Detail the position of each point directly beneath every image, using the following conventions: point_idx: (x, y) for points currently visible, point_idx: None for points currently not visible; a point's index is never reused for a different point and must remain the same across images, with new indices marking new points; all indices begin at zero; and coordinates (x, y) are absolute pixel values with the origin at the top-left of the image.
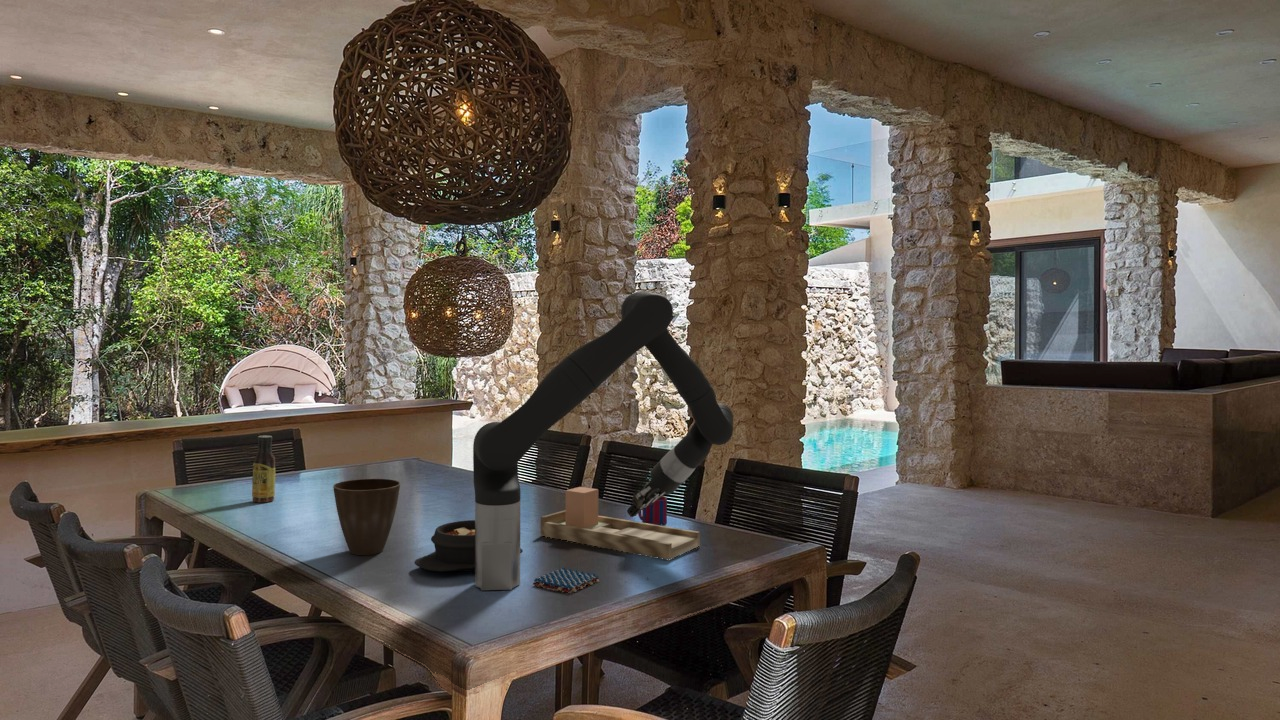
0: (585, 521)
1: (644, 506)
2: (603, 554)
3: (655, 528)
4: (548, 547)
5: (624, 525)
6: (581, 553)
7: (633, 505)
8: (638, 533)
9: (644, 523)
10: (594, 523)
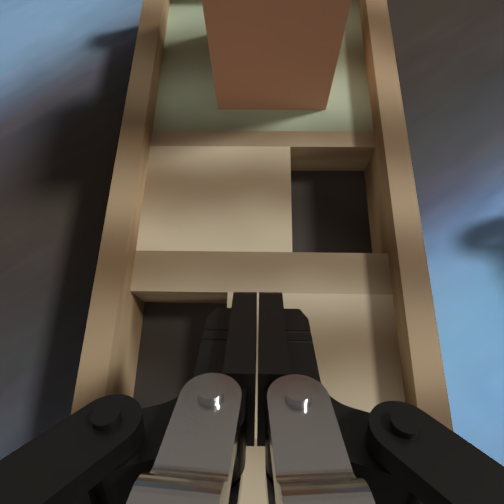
0: (225, 86)
1: (265, 476)
2: (33, 344)
3: None
4: (44, 114)
5: (384, 215)
6: (12, 256)
7: (196, 372)
8: None
9: (423, 330)
10: (297, 103)
